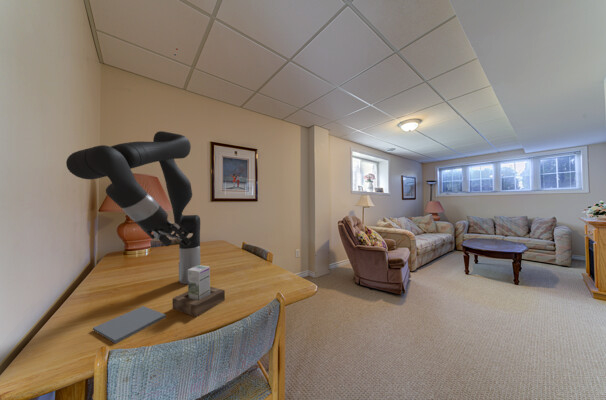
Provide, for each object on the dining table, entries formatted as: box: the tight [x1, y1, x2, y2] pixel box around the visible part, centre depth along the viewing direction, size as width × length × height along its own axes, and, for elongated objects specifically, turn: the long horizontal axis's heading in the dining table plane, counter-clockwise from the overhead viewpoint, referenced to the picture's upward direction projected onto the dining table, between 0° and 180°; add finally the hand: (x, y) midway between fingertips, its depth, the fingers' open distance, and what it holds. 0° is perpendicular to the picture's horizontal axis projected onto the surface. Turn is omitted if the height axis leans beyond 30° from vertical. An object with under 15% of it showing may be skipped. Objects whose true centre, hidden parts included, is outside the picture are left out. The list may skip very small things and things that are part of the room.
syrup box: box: [187, 264, 211, 301], centre depth 79 cm, size 6×6×14 cm
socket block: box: [172, 286, 226, 318], centre depth 79 cm, size 13×13×4 cm
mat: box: [92, 305, 167, 345], centre depth 67 cm, size 14×14×1 cm
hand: (178, 244), depth 69 cm, fingers open, 8 cm apart
